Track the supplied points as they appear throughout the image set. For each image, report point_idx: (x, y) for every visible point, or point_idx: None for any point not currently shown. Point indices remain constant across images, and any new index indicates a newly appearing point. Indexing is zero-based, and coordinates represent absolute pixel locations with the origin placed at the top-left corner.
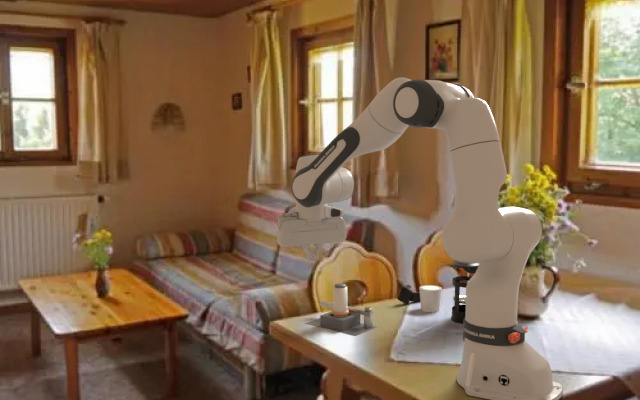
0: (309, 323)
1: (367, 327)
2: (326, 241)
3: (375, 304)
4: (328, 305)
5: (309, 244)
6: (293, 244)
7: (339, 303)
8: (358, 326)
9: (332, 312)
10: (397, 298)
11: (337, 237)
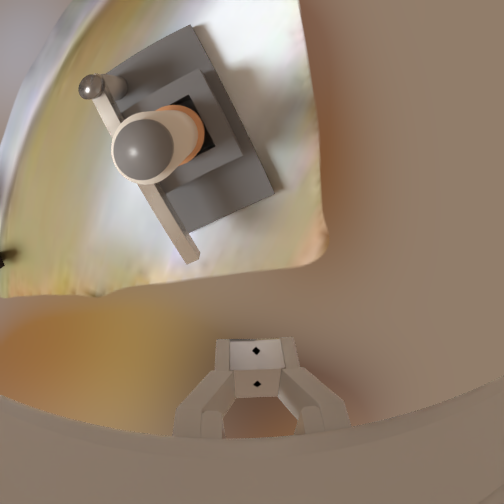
0: (262, 185)
1: (122, 78)
2: (120, 441)
3: (47, 284)
4: (180, 224)
5: (322, 432)
6: (470, 402)
7: (179, 113)
8: (138, 99)
9: (203, 136)
10: (3, 265)
11: (15, 436)
